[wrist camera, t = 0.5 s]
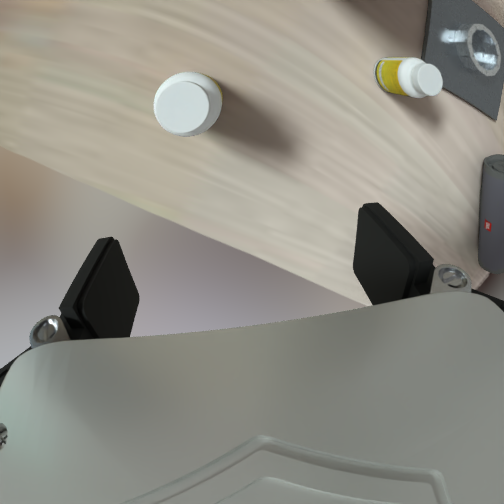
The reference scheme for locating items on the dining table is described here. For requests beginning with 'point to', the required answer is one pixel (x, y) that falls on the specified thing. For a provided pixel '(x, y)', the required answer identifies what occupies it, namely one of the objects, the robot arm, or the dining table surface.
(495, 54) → the duct collar
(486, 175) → the bluetooth speaker
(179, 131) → the supplement bottle
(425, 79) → the supplement bottle
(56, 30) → the dining table surface
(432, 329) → the robot arm
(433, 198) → the dining table surface
